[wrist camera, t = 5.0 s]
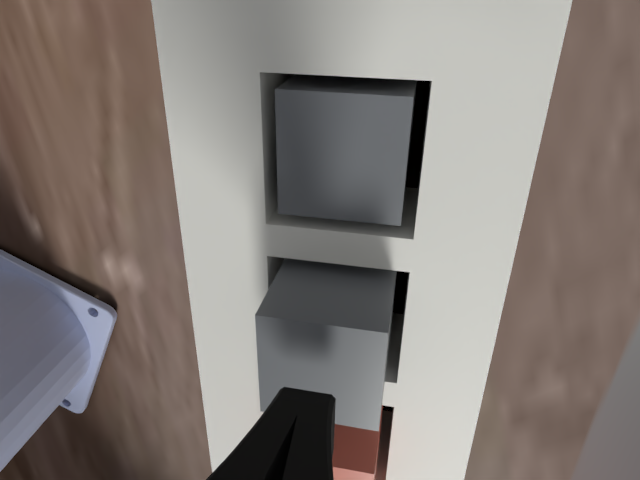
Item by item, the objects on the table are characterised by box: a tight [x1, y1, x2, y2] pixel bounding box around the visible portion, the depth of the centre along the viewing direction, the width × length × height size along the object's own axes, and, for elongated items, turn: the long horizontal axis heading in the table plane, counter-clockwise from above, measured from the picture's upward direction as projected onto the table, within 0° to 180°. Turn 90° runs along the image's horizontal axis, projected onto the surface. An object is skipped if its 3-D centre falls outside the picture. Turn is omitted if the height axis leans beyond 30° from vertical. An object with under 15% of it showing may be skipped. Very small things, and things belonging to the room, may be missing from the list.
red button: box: [332, 405, 383, 480], centre depth 18 cm, size 4×4×4 cm
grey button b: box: [255, 258, 397, 431], centre depth 16 cm, size 4×4×4 cm
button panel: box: [151, 0, 572, 480], centre depth 18 cm, size 20×10×4 cm, turn 179°
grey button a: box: [275, 74, 417, 226], centre depth 15 cm, size 4×4×4 cm
